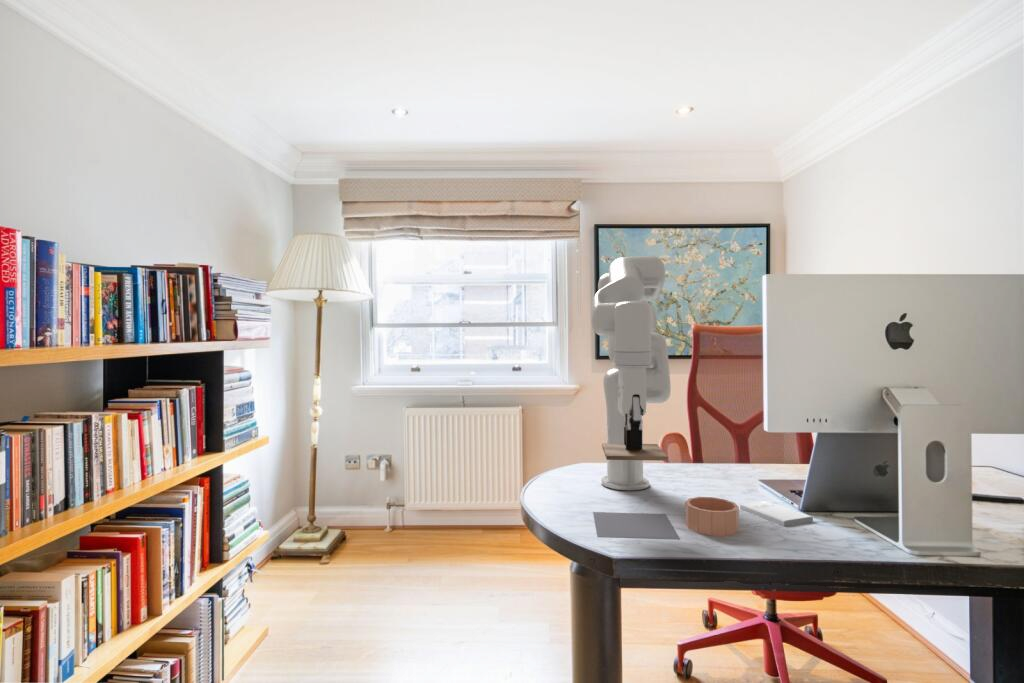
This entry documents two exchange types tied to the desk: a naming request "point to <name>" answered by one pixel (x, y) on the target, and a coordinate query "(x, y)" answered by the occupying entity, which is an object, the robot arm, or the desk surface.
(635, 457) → the lid
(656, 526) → the mat
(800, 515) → the external hard drive
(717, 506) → the bowl
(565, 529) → the desk surface
